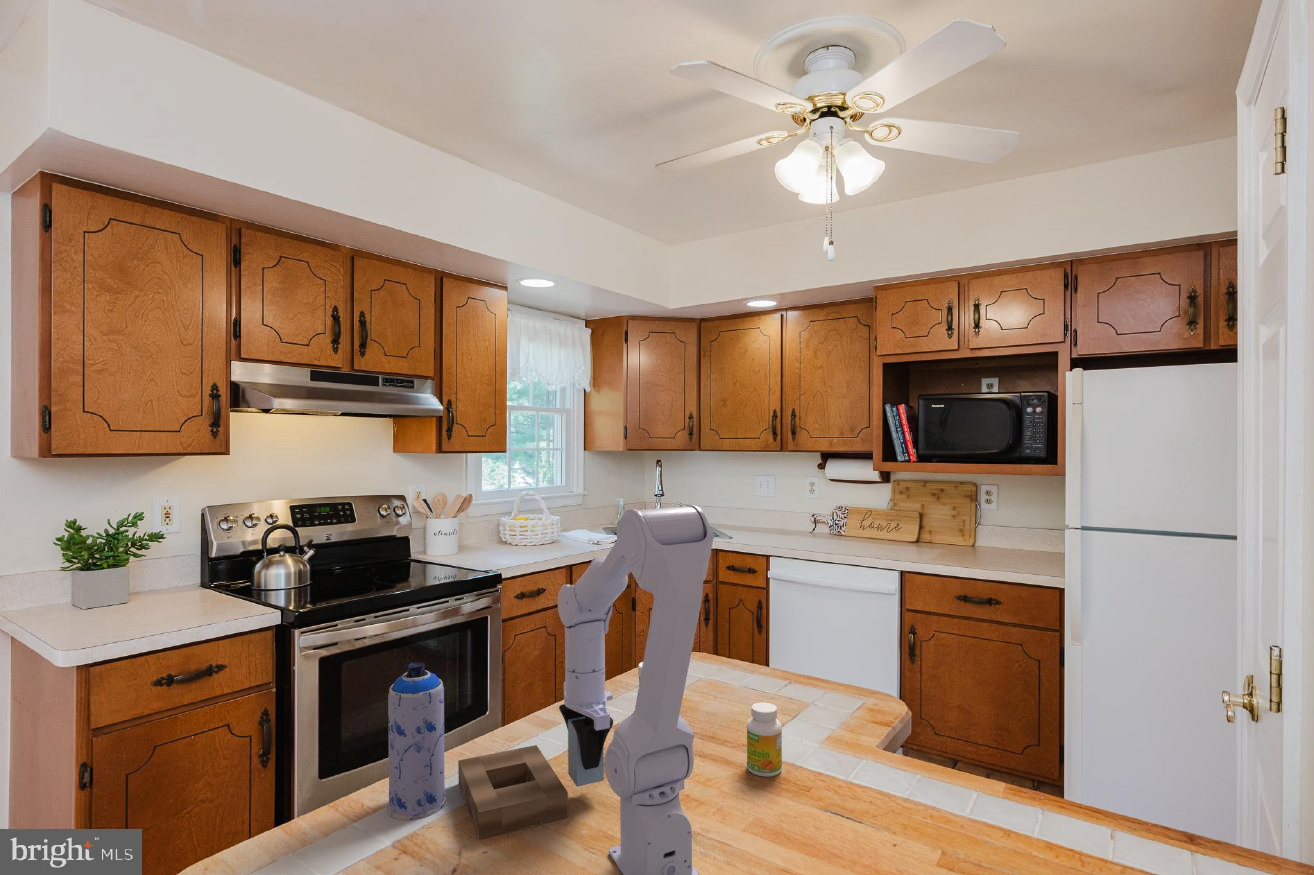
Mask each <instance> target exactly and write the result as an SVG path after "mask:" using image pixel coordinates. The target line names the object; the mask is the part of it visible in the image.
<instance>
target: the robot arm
mask: <svg viewBox="0 0 1314 875" xmlns="http://www.w3.org/2000/svg"><path fill="white" fill-rule="evenodd" d="M714 538H715V536H714V533H713V531H712V528H711V525H710V524H709V521H708V517H707V516H706V514H705V512H704V511H703V509H701V507H700V506H698V505H695V504H689V505H685V506H678V507H677V506H676V507H675V506H674V507H662V508H646V509H645V508H644V509H637V508H629V509H627V510H625V511H624V512H623V513H622V516H621V517H620V519H619V520H618V521H617V523H616V541H615V542H614V544H613V546H612V547H611V549H610V550H609V553H607V555H606V556H596V557H593V558H592V560H591V562H590V565H589V566H588V567H587V569H586V570H585V571H584V573H582V575H581V576H580V577H579V579H578V580H577V581H576V582H575V584H563V585H561V588H560V589H559V592H558V595H557V612H558V615H559V618H560V621H561V623H562V625H564V658H565V659H564V661H565V662H564V666H565V668H564V670H565V672H564V673H565V674H564V675H565V676H564V677H565V678H564V680H565V681H564V682H563V704H560V705H559V706H558V709H559V711H560V713H561V716H562V717H563V720H564V723H565V727H566V729H567V730H568V720H569V719H574V718H579V717H585V718H582V719H577V720H572V725H573V727H574V729H575V731H576V734H577V737H578V740H579V745H580V752H581V760H582V764H583V767H584V769H585V770H587V769H592V768H596V767H598V766H599V763H600V759H601V754H602V750H603V746H604V745H605V742H606V739H607V737H608V734H609V732H610V731H611V729H612V728H613V727H614V720H613V718H612V717H611V716H610V715H611V714H610V713H609V711H608V701H612V700H613V699H614V698H613V697H614V694H613V693H612V692H611V691H609V690H606V642H605V641H606V637H605V635H606V634H608V632H609V630H610V629H609V622H610V620H611V617H612V614H613V603H614V602H615V601H616V600H617V599H618V598H619V597H620V596H621V594H622V593H623V592H624V591H625V589H626V588H627V586H628V583H629V577H628V575H629V574H630V573H631V574H632V576H633V578H634V579H635V581H636V583H637V586H638V587H639V588H640V589H642V590H643V591H645V592H648V593H650V594H652V595H653V604H652V608H651V614H650V620H649V621H650V622H649V627H648V633H647V638H646V644H645V650H644V656H643V660H642V662H643V666H642V671H641V677H640V683H639V682H638V689H637V695H636V701H635V707H634V711H633V712H632V713H631V714H630V715H628V717H627V718H625V719H624V720H623V721H622V722H620V724H618V725H617V727H616V728H614V732H613V738H612V740H611V742H610V743H609V745H608V746H607V748H606V749H607V750H606V752H605V754H604V755H605V756H604V771H605V775H606V776H605V777H606V779H607V782H608V784H609V787H610V788H611V790H612V791H613V792H614V793H615V794H616V795H617V796H618V797H619V798H620V799H619V800H620V802H619V803H620V805H619V809H620V812H619V813H620V816H619V817H620V819H619V820H620V827H619V828H620V829H619V830H620V845H616V846H613V847H609V850H608V854H609V855H610V857H611V858H612V859H613V861H614V863H615V864H616V866H617V867H618V869H619V870H620V871H621V874H622V875H699V874H700V873H699V871H698V869H696V868H695V866H693V845H692V844H693V839H692V838H693V834H692V833H693V832H692V831H693V830H692V825H691V822H690V820H689V818H688V817H687V816H686V814H685V813H684V811H683V808H682V806H681V801H680V792H681V791H682V790H685V780H688V779H689V778H690V777H691V775H692V773H693V769H694V764H695V756H694V749H693V748H694V747H693V744H694V739H695V735H694V732H693V731H692V728H691V726H690V725H689V723H688V722H687V720H686V719H685V718H684V717H682V716H681V714H680V712H681V707H682V703H683V700H684V699H683V698H684V693H685V688H686V682H687V677H688V674H689V666H690V662H691V657H692V652H693V647H694V641H695V636H696V632H697V627H698V626H697V625H698V620H699V616H700V612H701V607H702V606H701V605H702V600H703V593H704V591H703V590H704V581H705V580H706V578H707V576H708V575H707V574H708V568H709V563H710V558H711V553H712V548H713V544H714V543H713V542H714Z"/></svg>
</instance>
